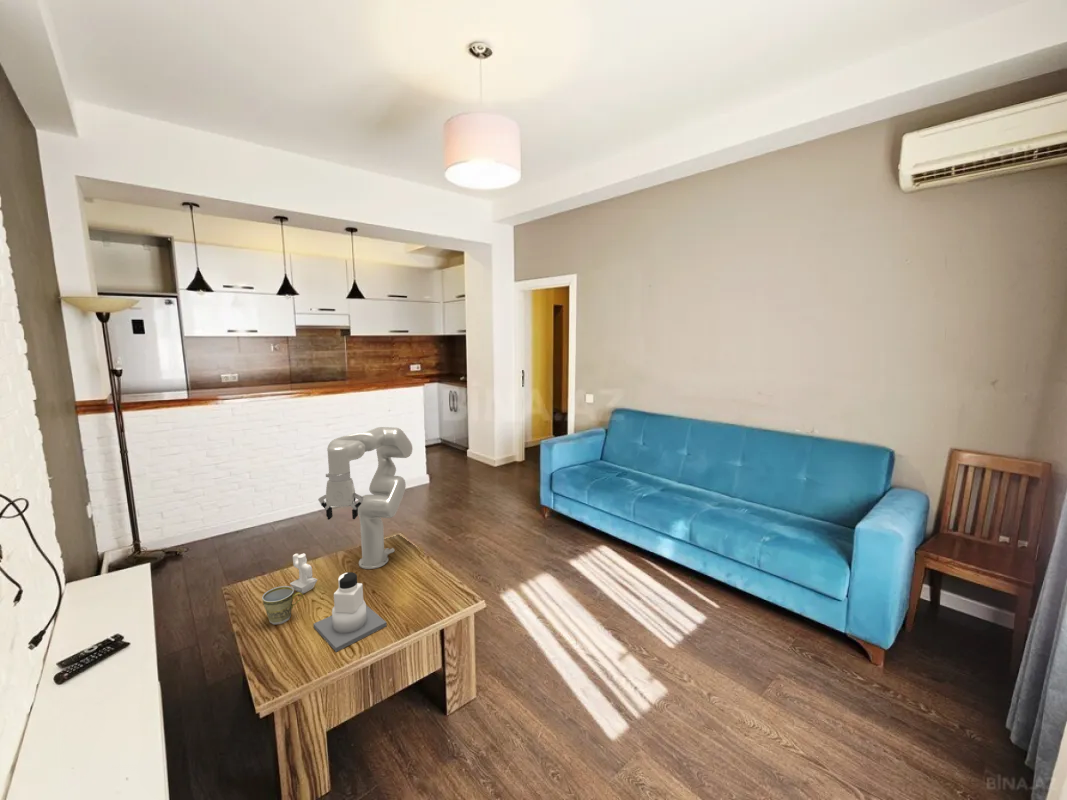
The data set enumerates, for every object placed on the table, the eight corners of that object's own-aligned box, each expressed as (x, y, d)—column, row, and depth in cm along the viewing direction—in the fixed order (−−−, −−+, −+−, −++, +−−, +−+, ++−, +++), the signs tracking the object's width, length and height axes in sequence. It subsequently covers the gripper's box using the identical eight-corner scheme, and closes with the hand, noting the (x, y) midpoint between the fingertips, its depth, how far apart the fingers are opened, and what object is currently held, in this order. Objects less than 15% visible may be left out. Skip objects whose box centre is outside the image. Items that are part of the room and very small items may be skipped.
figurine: (303, 597, 177) (300, 561, 175) (288, 591, 182) (285, 556, 179) (320, 588, 184) (317, 553, 181) (305, 582, 188) (302, 548, 186)
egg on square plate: (362, 605, 173) (361, 587, 171) (386, 626, 160) (385, 606, 159) (313, 627, 159) (312, 608, 158) (336, 652, 147) (334, 631, 146)
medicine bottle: (363, 601, 162) (362, 570, 160) (354, 613, 155) (352, 581, 153) (344, 600, 163) (342, 569, 161) (334, 612, 156) (332, 580, 154)
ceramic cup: (260, 630, 158) (258, 603, 157) (269, 612, 168) (266, 588, 166) (301, 623, 162) (299, 598, 160) (307, 607, 171) (305, 582, 170)
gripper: (313, 479, 172) (316, 522, 175) (359, 479, 173) (361, 521, 175) (321, 473, 180) (324, 514, 182) (365, 473, 180) (367, 514, 183)
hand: (342, 518), depth 179 cm, fingers open, 9 cm apart
